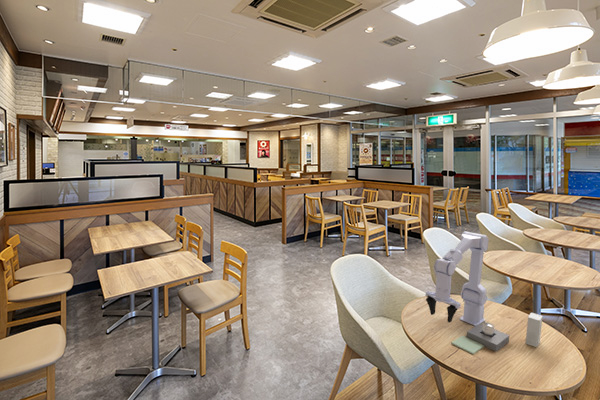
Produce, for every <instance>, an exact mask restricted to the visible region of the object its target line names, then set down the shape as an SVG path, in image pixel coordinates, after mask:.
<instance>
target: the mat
mask: <svg viewBox="0 0 600 400" xmlns="http://www.w3.org/2000/svg"><path fill="white" fill-rule="evenodd" d="M451 344H452V345H453V346H455V347H458V348H459V349H462V350H463V351H466V352H467V353H469V354H472V355H474V354H476V353H478V352H479V351H480V350H481V349H483V348H485V346H484V345H482V344H480V343H478V342H476V341H473V340H471V339H469V338H467V337H466V336H464V335H461V336H459V337H458V338H456V339H455V340H453V341H452V342H451Z"/></svg>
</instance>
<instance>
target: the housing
mask: <svg viewBox="0 0 600 400" xmlns="http://www.w3.org/2000/svg"><path fill="white" fill-rule="evenodd" d="M482 333H483V323H480V324H478V325H476V326H472V327H471V328H470V329H468V330H467V331H466V336H465V337H467V338H469V339H471V340H473V341H476V342H478V343H480V344H482V345H484V348H487V349H489V350H492V351H493V352H498V351H499V350H500V349H501V348H504V346H506V345H507V344H508V343H509V342H510V335H509V334H508V333H505V332H503V331H501V330H498V329H496V328H494V334H493V337H492V338H491V337H488V336H486V335H484V334H482Z"/></svg>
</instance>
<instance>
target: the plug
mask: <svg viewBox="0 0 600 400" xmlns="http://www.w3.org/2000/svg"><path fill="white" fill-rule="evenodd" d="M482 324H483V333H482V334H484V335H486V336H488V337H491V338H492V337H493V334H494V329H495V325H494V324H493V323H491V322H487V321H486V322H485V321H484V322H482Z"/></svg>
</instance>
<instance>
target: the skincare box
mask: <svg viewBox="0 0 600 400" xmlns="http://www.w3.org/2000/svg"><path fill="white" fill-rule="evenodd" d="M542 325H543V315H541V314H538V313H535V312H530V313H529V315H528V317H527V325H526V335H525V344H526V345H529V346H531V347H534V348H538V347H539V345H540V342H541V335H542V333H541V332H542Z"/></svg>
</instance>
